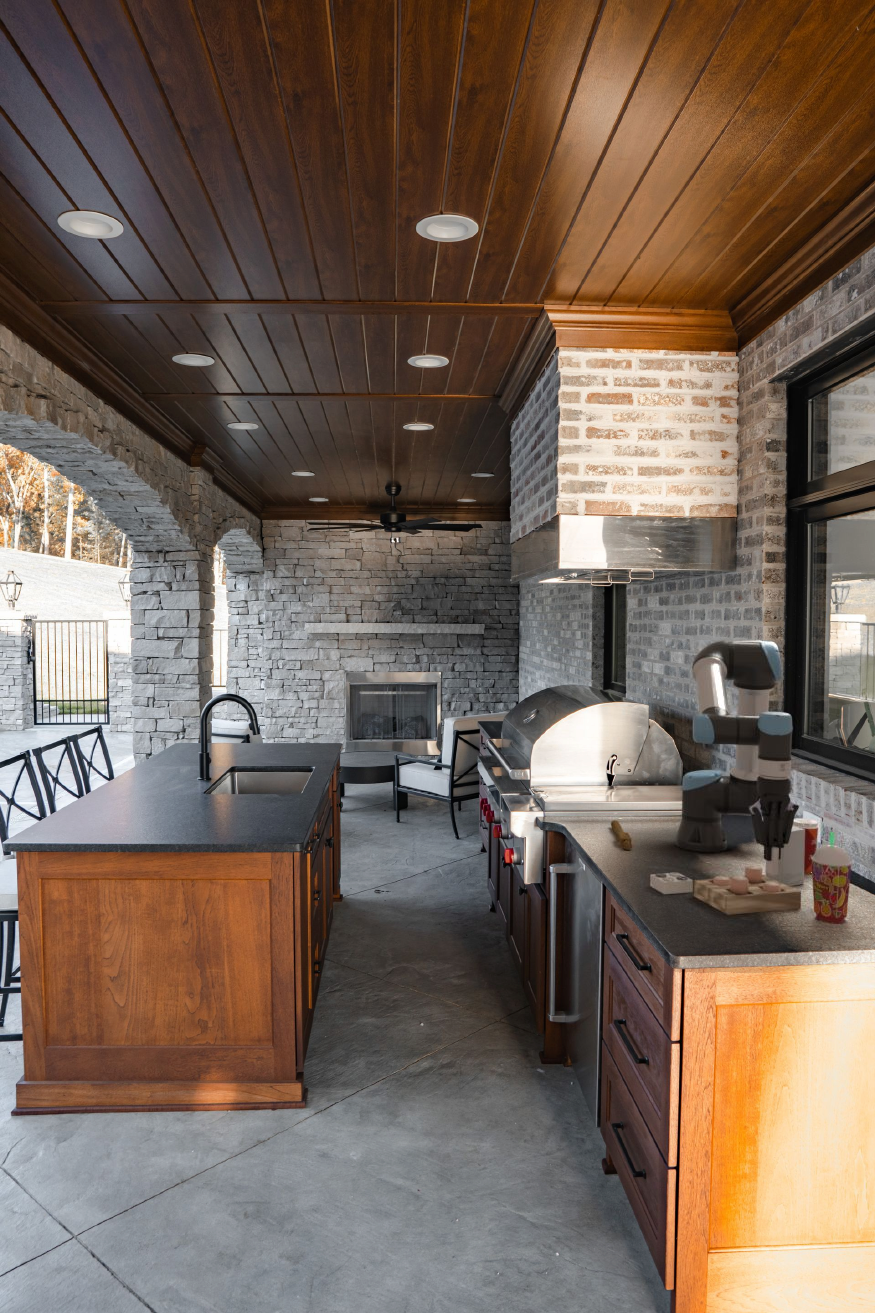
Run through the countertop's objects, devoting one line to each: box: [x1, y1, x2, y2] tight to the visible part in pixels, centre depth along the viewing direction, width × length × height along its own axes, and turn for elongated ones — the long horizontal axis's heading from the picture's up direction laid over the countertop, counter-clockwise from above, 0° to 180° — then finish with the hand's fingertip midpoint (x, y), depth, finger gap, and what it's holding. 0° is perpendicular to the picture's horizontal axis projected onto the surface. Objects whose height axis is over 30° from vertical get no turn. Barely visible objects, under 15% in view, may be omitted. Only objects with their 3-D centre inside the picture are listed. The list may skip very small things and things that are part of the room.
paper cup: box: [793, 817, 820, 874], centre depth 227 cm, size 8×8×14 cm
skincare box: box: [765, 826, 805, 887], centre depth 215 cm, size 8×6×15 cm
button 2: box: [730, 875, 749, 895], centre depth 195 cm, size 4×4×4 cm
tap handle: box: [610, 820, 633, 851], centre depth 262 cm, size 3×3×30 cm
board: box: [693, 874, 802, 916], centre depth 199 cm, size 14×20×4 cm
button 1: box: [712, 875, 731, 886], centre depth 202 cm, size 4×4×4 cm
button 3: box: [744, 865, 763, 884], centre depth 204 cm, size 4×4×4 cm
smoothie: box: [811, 832, 853, 924], centre depth 188 cm, size 8×8×20 cm
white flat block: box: [649, 871, 694, 895], centre depth 209 cm, size 7×8×3 cm
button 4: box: [763, 882, 781, 893], centre depth 197 cm, size 4×4×4 cm
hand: (771, 873), depth 197 cm, fingers closed
